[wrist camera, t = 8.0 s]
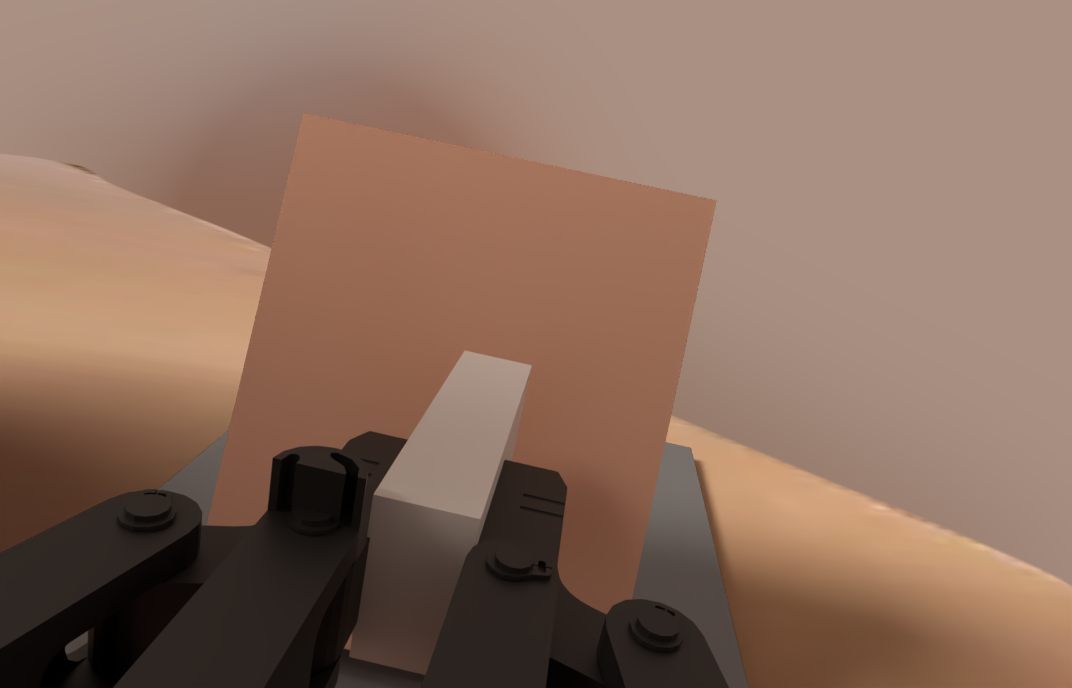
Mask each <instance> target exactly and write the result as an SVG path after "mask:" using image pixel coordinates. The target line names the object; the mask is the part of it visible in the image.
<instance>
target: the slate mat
mask: <svg viewBox="0 0 1072 688" xmlns="http://www.w3.org/2000/svg"><path fill="white" fill-rule="evenodd" d="M228 432H229V430H228V431H227V432H226V433H225V434H224V435H222V436H221V437H220V438H219V439H218V440H216V441H215V442H214V443H213V444H212V445H210V446H209V447H208V448H207V449H206V450H204V451H203V452H202V453H201V454H200V455H198V456H197V457H196V458H195V459H194V460H192V461H191V462H190V463H189V464H188V465H186V466H185V467H184V468H183V469H182V470H180V471H179V472H178V473H177V474H176V475H175V476H173V477H172V478H171V479H170V480H169V481H167V482H166V483H165V484H164V485H163V486H161V487H160V488H159V489H158V490H166V491H171V492H175V493H179V494H183V495H186V496H187V497H189V498H191V499H192V500H194V501H195V502H197V503H198V505H199V507H200V509H201V511H202V525H207V521H208V516H209V512H210V508H211V504H212V499H213V495H214V491H215V487H216V483H217V478H218V474H219V470H220V466H221V461H222V457H223V453H224V449H225V444H226V440H227V436H228ZM632 599H645V600H650V601H655V602H660V603H662V604H665V605H667V606H670V607H672V608H674V609H676V610H678V611H680V612H681V613H682V614H684V615H685V616H686V617H687V618H689V619H690V620H691V621H693V622H694V623H695V625H696V626H697V627H698V629H699V630H700V631H701V633H702V634H703V635H704V637H705V639H706V641H707V643H708V645H709V647H710V650H711V652H712V654H713V656H714V658H715V660H716V662H717V664H718V666H719V668H720V670H721V672H722V674H723V676H724V678H725V680H726V682H727V684H728V686H729V688H748V685H747V680H746V676H745V672H744V668H743V664H742V659H741V655H740V651H739V647H738V643H737V638H736V634H735V630H734V626H733V622H732V618H731V613H730V609H729V605H728V601H727V597H726V592H725V588H724V584H723V580H722V576H721V571H720V567H719V563H718V559H717V555H716V550H715V546H714V542H713V538H712V534H711V529H710V525H709V521H708V517H707V513H706V508H705V504H704V500H703V496H702V492H701V487H700V483H699V479H698V475H697V471H696V466H695V462H694V458H693V454H692V450H691V448H689V447H684V446H680V445H675V444H671V443H666V442H665V446H664V450H663V455H662V460H661V465H660V469H659V474H658V479H657V483H656V488H655V493H654V498H653V502H652V507H651V512H650V516H649V521H648V526H647V531H646V535H645V540H644V545H643V549H642V554H641V559H640V563H639V568H638V573H637V578H636V582H635V587H634V592H633V596H632ZM87 642H88V631H87V632H85V633H84V634H82V635H81V636H79V637H78V638H76V639H75V640H73V641H72V642H70V643H69V644H68V645H66V646H65V652H66V654H69V653H71V652H73V651H76V650H77V649H79V648H80V647H81V646H83V645H84V644H86V643H87ZM349 654H350V650H348V649H343V651H342V656H341V663H340V670H339V675H338V680H337V683H336V686H335V688H421V686H422V683H423V681H424V678H425V675H423V674H419V673H414V672H410V671H406V670H402V669H398V668H394V667H389V666H385V665H381V664H377V663H373V662H368V661H364V660H360V659H356V658H352V657H349Z"/></svg>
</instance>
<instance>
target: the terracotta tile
mask: <svg viewBox="0 0 1072 688" xmlns="http://www.w3.org/2000/svg"><path fill="white" fill-rule="evenodd" d="M715 206H716V200H712V199H707V198H702V197H697V196H693V195H687V194H683V193H679V192H674V191H669V190H665V189H660V188H655V187H650V186H645V185H641V184H636V183H631V182H627V181H622V180H617V179H613V178H608V177H603V176H598V175H594V174H589V173H584V172H580V171H575V170H570V169H565V168H560V167H556V166H551V165H546V164H541V163H537V162H532V161H527V160H523V159H518V158H513V157H508V156H504V155H499V154H494V153H489V152H485V151H480V150H476V149H471V148H466V147H461V146H457V145H452V144H447V143H442V142H438V141H433V140H428V139H424V138H419V137H414V136H409V135H405V134H400V133H395V132H390V131H385V130H381V129H376V128H371V127H367V126H362V125H357V124H353V123H348V122H343V121H339V120H334V119H329V118H324V117H320V116H315V115H310V114H306V113H304V114H303V118H302V122H301V127H300V131H299V135H298V140H297V144H296V148H295V152H294V156H293V161H292V165H291V169H290V173H289V177H288V182H287V186H286V190H285V194H284V199H283V203H282V207H281V211H280V216H279V220H278V224H277V228H276V233H275V237H274V241H273V245H272V249H271V254H270V258H269V262H268V266H267V271H266V275H265V279H264V283H263V288H262V292H261V296H260V300H259V305H258V309H257V313H256V317H255V322H254V326H253V330H252V334H251V338H250V343H249V347H248V351H247V355H246V360H245V364H244V368H243V372H242V377H241V381H240V385H239V389H238V394H237V398H236V402H235V406H234V410H233V415H232V419H231V423H230V427H229V432H228V436H227V440H226V444H225V449H224V453H223V457H222V461H221V466H220V470H219V474H218V478H217V483H216V487H215V491H214V495H213V499H212V504H211V508H210V512H209V516H208V521H207V525H209V526H251V525H255V524H256V523H257V522H258V520H259V519H260V518H261V517H262V516H263V515H264V514H265V512H266V511H267V509H268V500H269V490H270V480H271V470H272V460H273V457H275V456H276V455H278V454H280V453H281V452H283V451H285V450H289V449H292V448H296V447H301V446H324V447H332V448H338V449H342V448H343V447H344V446H345V445H346V443H347V442H348V441H349V440H350V439H353V438H355V437H357V436H359V435H362V434H364V433H366V432H368V431H372V432H377V433H381V434H385V435H390V436H394V437H399V438H403V439H407V440H408V439H409V437H410V436H411V434H412V433H413V431H414V430H415V428H416V426H417V425H418V423H419V422H420V420H421V419H422V417H423V415H424V414H425V412H426V411H427V409H428V408H429V406H430V404H431V403H432V401H433V400H434V398H435V397H436V395H437V393H438V392H439V390H440V389H441V387H442V386H443V384H444V382H445V381H446V379H447V378H448V376H449V375H450V373H451V371H452V370H453V368H454V367H455V365H456V364H457V362H458V360H459V359H460V357H461V356H462V354H463V353H464V351H470V352H474V353H479V354H483V355H488V356H492V357H496V358H501V359H505V360H510V361H514V362H519V363H523V364H528V365H532V367H531V372H530V377H529V382H528V386H527V391H526V396H525V401H524V406H523V410H522V415H521V420H520V425H519V429H518V434H517V439H516V444H515V449H514V453H513V458H512V461H513V462H518V463H522V464H527V465H531V466H535V467H540V468H544V469H548V470H553V471H557V472H559V474H560V476H561V477H562V479H563V481H564V483H565V484H566V486H567V496H566V503H565V511H564V517H563V526H562V534H561V542H560V550H559V557H558V565H557V567H558V572H559V577H560V579H561V582H562V584H563V585H564V586H565V587H566V588H567V590H568V591H569V592H570V593H571V594H573V595H574V596H575V597H576V598H577V599H579V600H580V601H582V602H583V603H585V604H587V605H589V606H591V607H592V608H594V609H596V610H599V611H601V612H603V613H605V614H607V613H608V612H609V610H610V609H611V607H612V606H613V605H615V604H617V603H619V602H622V601H624V600H631V599H632V596H633V592H634V587H635V582H636V578H637V573H638V568H639V563H640V559H641V554H642V549H643V545H644V540H645V535H646V531H647V526H648V521H649V516H650V512H651V507H652V502H653V498H654V493H655V488H656V483H657V479H658V474H659V469H660V465H661V460H662V455H663V450H664V446H665V441H666V436H667V432H668V427H669V422H670V418H671V413H672V408H673V403H674V399H675V394H676V389H677V385H678V380H679V375H680V370H681V366H682V361H683V356H684V352H685V347H686V342H687V337H688V333H689V328H690V323H691V319H692V314H693V309H694V304H695V300H696V295H697V290H698V286H699V281H700V276H701V272H702V267H703V262H704V257H705V253H706V248H707V243H708V239H709V233H710V229H711V225H712V220H713V215H714V210H715ZM352 634H353V631H352V633H351V635H350V637H349V639H348V641H347V643H346V645H345V647H344V649H348V650H350V647H351V641H352Z"/></svg>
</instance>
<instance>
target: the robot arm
mask: <svg viewBox="0 0 1072 688" xmlns="http://www.w3.org/2000/svg"><path fill="white" fill-rule="evenodd" d="M531 367H532V365H528V364H523V363H519V362H514V361H510V360H505V359H501V358H496V357H492V356H488V355H483V354H479V353H474V352H470V351H464V353H463V354H462V356H461V357H460V359H459V360H458V362H457V364H456V365H455V367H454V368H453V370H452V371H451V373H450V375H449V376H448V378H447V379H446V381H445V382H444V384H443V386H442V387H441V389H440V390H439V392H438V393H437V395H436V397H435V398H434V400H433V401H432V403H431V404H430V406H429V408H428V409H427V411H426V412H425V414H424V415H423V417H422V419H421V420H420V422H419V423H418V425H417V426H416V428H415V430H414V431H413V433H412V434H411V436H410V437H409V439H408V440H407V439H403V438H399V437H394V436H390V435H385V434H381V433H377V432H372V431H368V432H366V433H364V434H362V435H359V436H357V437H355V438H353V439H350V440H349V441H348V442H347V443H346V445H345V446H344V447H343V448H342V449H338V448H332V447H324V446H301V447H296V448H292V449H289V450H285V451H283V452H281V453H280V454H278V455H276V456H275V457H273V460H272V470H271V480H270V490H269V500H268V509H267V511H266V512H265V514H264V515H263V516H262V517H261V518H260V519H259V520H258V522H257V523H256V524H255V525H251V526H209V525H202V511H201V509H200V507H199V505H198V503H197V502H195V501H194V500H192V499H191V498H189V497H187V496H186V495H183V494H179V493H175V492H171V491H166V490H143V491H136V492H129V493H125V494H122V495H119V496H117V497H114V498H111V499H108V500H106V501H104V502H102V503H100V504H98V505H96V506H94V507H92V508H90V509H88V510H86V511H84V512H82V513H80V514H78V515H76V516H74V517H72V518H70V519H68V520H66V521H64V522H62V523H60V524H58V525H56V526H54V527H52V528H50V529H48V530H46V531H44V532H42V533H40V534H38V535H36V536H34V537H32V538H30V539H28V540H26V541H24V542H22V543H20V544H18V545H16V546H14V547H12V548H10V549H8V550H6V551H4V552H2V553H0V688H335V686H336V683H337V680H338V675H339V670H340V663H341V656H342V651H343V649H344V647H345V645H346V643H347V641H348V639H349V637H350V635H351V633H352V631H353V634H352V641H351V647H350V654H349V657H352V658H356V659H360V660H364V661H368V662H373V663H377V664H381V665H385V666H389V667H394V668H398V669H402V670H406V671H410V672H414V673H419V674H423V675H425V678H424V681H423V683H422V686H421V688H729V686H728V684H727V682H726V680H725V678H724V676H723V674H722V672H721V670H720V668H719V666H718V664H717V662H716V660H715V658H714V656H713V654H712V652H711V650H710V647H709V645H708V643H707V641H706V639H705V637H704V635H703V634H702V633H701V631H700V630H699V629H698V627H697V626H696V625H695V623H694V622H693V621H691V620H690V619H689V618H687V617H686V616H685V615H684V614H682V613H681V612H680V611H678V610H676V609H674V608H672V607H670V606H667V605H665V604H662V603H660V602H655V601H650V600H645V599H631V600H624V601H622V602H619V603H617V604H615V605H613V606H612V607H611V609H610V610H609V612H608V613H607V614H605V613H603V612H601V611H599V610H596V609H594V608H592V607H591V606H589V605H587V604H585V603H583V602H582V601H580V600H579V599H577V598H576V597H575V596H574V595H573V594H571V593H570V592H569V591H568V590H567V588H566V587H565V586H564V585H563V584H562V582H561V579H560V577H559V572H558V567H557V565H558V557H559V550H560V542H561V534H562V526H563V517H564V511H565V503H566V496H567V486H566V484H565V483H564V481H563V479H562V477H561V476H560V474H559V472H557V471H553V470H548V469H544V468H540V467H535V466H531V465H527V464H522V463H518V462H513V461H512V458H513V453H514V449H515V444H516V439H517V434H518V429H519V425H520V420H521V415H522V410H523V406H524V401H525V396H526V391H527V386H528V382H529V377H530V372H531ZM87 631H88V642H87V643H86V644H84V645H83V646H81V647H80V648H79V649H77V650H76V651H73V652H71V653H69V654H66V652H65V646H66V645H68V644H69V643H70V642H72V641H73V640H75V639H76V638H78V637H79V636H81V635H82V634H84V633H85V632H87Z"/></svg>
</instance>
